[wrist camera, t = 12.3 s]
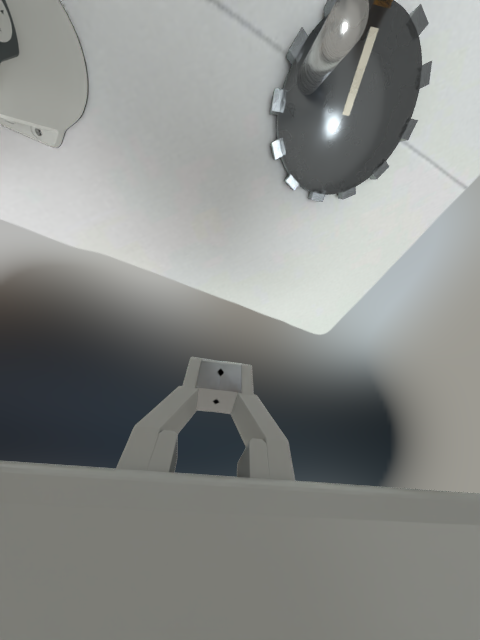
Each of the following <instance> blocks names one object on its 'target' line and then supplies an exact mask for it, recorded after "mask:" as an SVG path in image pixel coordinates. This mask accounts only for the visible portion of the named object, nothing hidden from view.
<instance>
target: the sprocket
mask: <svg viewBox="0 0 480 640" xmlns="http://www.w3.org/2000/svg"><path fill="white" fill-rule="evenodd" d="M324 15H325V18H324V19H323V20H322V21H321V22H320V23H319V24H318V25H317V26H316V27H315V29H314V30H313V31H312V32H311V34H310V35H309V36H307V34H306V33H305V31H304V29H303V28H301V30H300V31H299V33H298V35H297V37H296V38H295V40H294V42H293V44H292V45H291V47H290V49H289V51H288V54H287V56H286V58H287V59H288V60H289V62H290V63H291V65H292V66H291V68H290V71H289V73H288V75H287V78H286V80H285V83H284V86H283V89H278V88H275V90H274V93H273V98H272V104H271V110H270V114H273V115H277V128H276V129H277V140H276V141H274V142H272V143H271V144H270V145H271V149H272V154H273V158H274V160H276V159H278V158H280V157H281V160H282V162H283V165H284V167H285V169H286V171H287V173H288V174H289V175H288V176H287V177H286V179H285V180H284V181H285V182H286V184H287V185H288V186H289V187H290V188H291V189H292V190H295V189H296V188H297V187H298V185H299V186H301V187H302V188H304V189H306V190H308V191H310V194H309V198H308V199H310V200H315V201H321V202H323V200H324V197H325V194H336V193H338V198H339V199H345V198H347V197H350V196H352V195H354V194H356V189H355V187H356V186H357V185H359V184H361V183H362V182H364V181H365V180H366V179H368V178H370V179H378V178H379V177H380V176H381V175H382V173H383V172H384V171H385V170H386V169H387V168H388V167H389V165H388V164H387V162H386V160H387V159H388V158H389V156H390V155H391V154H392V152H393V151H394V149H395V148H396V146H397V145H398V143H399V142H401V141H406V140H408V139H409V137H410V135H411V133H412V131H413V129H414V127H415V125H416V123H417V121H418V120H414V119H411V117H412V114H413V111H414V108H415V105H416V101H417V97H418V93H419V89H420V88H422V87H424V86H426V85H428V84H429V80H430V72H431V64H432V61H430V62H428V63H426V64H424V65H422V55H421V46H420V40H419V35H420V33H421V32H422V31H423V30H424V28H425V27H426V26H427V25H428V21H427V18H426V16H425V13H424V11H423V8H422V6H421V4H420V5H419V6H418V7H417V8H416V9H415V10H414V11H413V12H412V13H411V14H410V15H409V14H408V13H407V12H406V10H405V9H404V8H403V7H402V6H401V5H399V4H398V3H397V2H396V1H394V0H328V1H327V3H326V5H325V7H324Z"/></svg>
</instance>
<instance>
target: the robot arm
mask: <svg viewBox="0 0 480 640" xmlns="http://www.w3.org/2000/svg"><path fill="white" fill-rule="evenodd" d="M87 90H88V84H87V73H86V66H85V61H84V57H83V53H82V50H81V47H80V44H79V41H78V38H77V35H76V33H75V30H74V28H73V26H72V24H71V22H70V19H69V17H68V16H67V14H66V12H65V10H64V8H63V6H62V5H61V3H60V1H59V0H0V125H3V126H5V127H7V128H9V129H11V130H14V131H16V132H18V133H20V134H23V135H25V136H27V137H29V138H32V139H34V140H36V141H38V142H41V143H43V144H45V145H47V146H51V147H54V148H57V147H59V146H60V145H61V142H62V140H63V137H64V133H65V131H66V130H67V129H68V128H69V127H70V126H72V125H73V124H74V123H76V122H77V120H78V119H79V118H80V116H81V115H82V113H83V111H84V108H85V105H86V100H87ZM39 130H40V131H41V133H42V135H40V133H39ZM196 410H198V411H210V412H219V413H227V414H231V416H232V418H233V420H234V422H235V425H236V427H237V429H238V431H239V433H240V435H241V438H242V439H243V442H244V444H245V446H246V449H245V450H244V452H243V454H242V456H241V458H240V460H239V461H238V463H237V477H231V476H216V475H200V474H186V473H174V471H175V467H176V462H177V434H178V433H179V432H180V431H181V429H182V428H183V427H184V426H185V424H186V423H187V422H188V421H189V420H190V418H191V417H192V416H193V415H194V413H195V412H196ZM0 640H480V494H479V493H463V492H449V491H434V490H420V489H405V488H391V487H377V486H362V485H347V484H333V483H332V484H331V483H318V482H317V483H316V482H304V481H295V477H294V472H293V466H292V460H291V455H290V449H289V443H288V440H287V439H286V437H285V436H284V434H283V433H282V431H281V430H280V428H279V427H278V426H277V424H276V423H275V421H274V420H273V418H272V417H271V415H270V414H269V413H268V411H267V410H266V408H265V407H264V405H263V404H262V403H261V401H260V399H259V398H258V396H256V395H254V393H253V376H252V366H251V365H246V364H240V363H233V362H225V361H216V360H209V359H203V358H196V357H191V358H190V361H189V365H188V368H187V372H186V375H185V379H184V382H183V386H179V387H177V388H176V389H175V390H174V391H173V392H172V393H171V394H170V395H169V396H168V397H166V398H165V399H164V400H163V401H162V402H161V403H160V404H158V405H157V406H156V407H155V408H154V409H153V410H152V411H151V412H150V413H148V414H147V415H146V416H145V417H144V418H143V419H142V420H141V421H140V422H138V423H137V424H136V425H135V426H134V428H133V430H132V433H131V435H130V437H129V440H128V442H127V444H126V447H125V449H124V451H123V453H122V456H121V458H120V460H119V463H118V465H117V467H116V469H114V468H99V467H84V466H69V465H55V464H40V463H26V462H11V461H0Z"/></svg>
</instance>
